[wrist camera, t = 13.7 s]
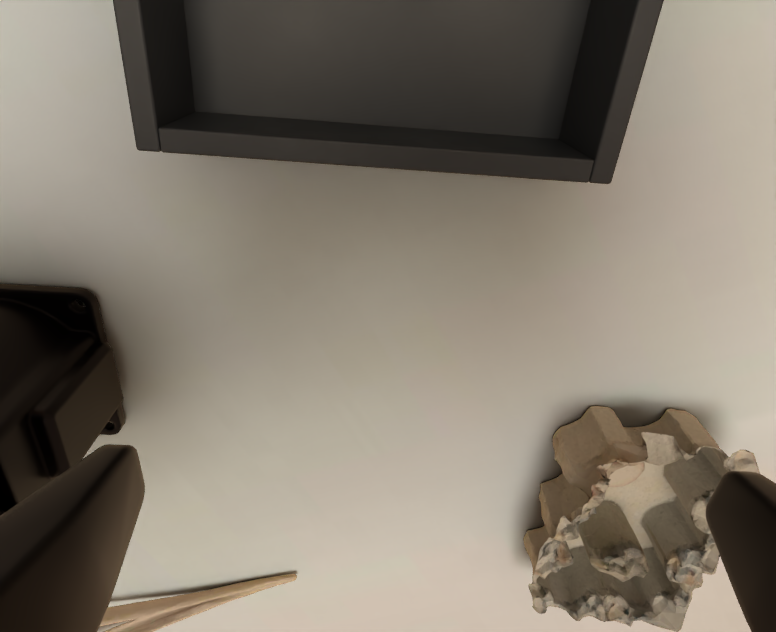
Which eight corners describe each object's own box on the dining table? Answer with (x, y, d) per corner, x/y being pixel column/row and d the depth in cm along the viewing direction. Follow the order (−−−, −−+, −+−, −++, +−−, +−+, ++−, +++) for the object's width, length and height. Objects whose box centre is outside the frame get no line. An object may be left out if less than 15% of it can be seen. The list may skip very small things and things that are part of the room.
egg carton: (562, 394, 21) (600, 467, 17) (732, 407, 22) (804, 481, 18) (505, 559, 26) (525, 642, 22) (644, 567, 27) (686, 649, 23)
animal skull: (31, 654, 29) (11, 693, 28) (-22, 608, 27) (-48, 646, 26) (313, 578, 28) (311, 613, 27) (281, 523, 26) (277, 557, 24)
